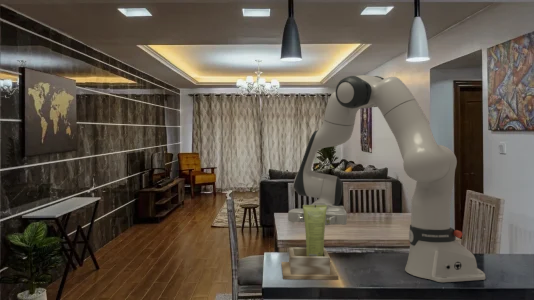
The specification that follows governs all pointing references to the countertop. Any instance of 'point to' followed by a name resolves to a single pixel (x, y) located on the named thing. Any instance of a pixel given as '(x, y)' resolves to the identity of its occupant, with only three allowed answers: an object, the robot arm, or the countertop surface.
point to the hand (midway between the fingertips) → (314, 220)
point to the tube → (315, 228)
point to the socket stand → (308, 266)
